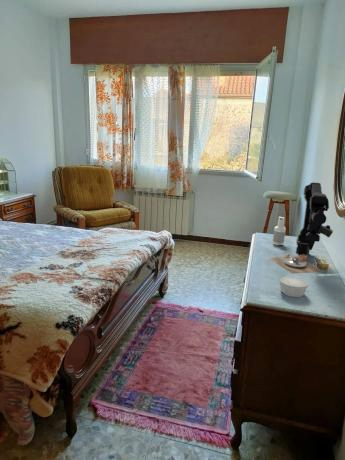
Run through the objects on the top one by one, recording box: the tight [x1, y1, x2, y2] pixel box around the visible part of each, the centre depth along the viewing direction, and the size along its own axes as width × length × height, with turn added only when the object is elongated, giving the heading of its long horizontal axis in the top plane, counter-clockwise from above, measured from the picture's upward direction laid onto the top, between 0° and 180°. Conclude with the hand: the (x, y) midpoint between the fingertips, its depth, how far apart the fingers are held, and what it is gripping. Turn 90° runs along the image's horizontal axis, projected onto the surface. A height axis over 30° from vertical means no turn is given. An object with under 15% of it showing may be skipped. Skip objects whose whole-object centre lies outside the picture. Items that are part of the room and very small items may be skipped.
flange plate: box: [284, 254, 308, 268], centre depth 169 cm, size 14×11×4 cm
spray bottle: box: [272, 216, 287, 246], centre depth 203 cm, size 7×7×18 cm
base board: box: [269, 256, 324, 274], centre depth 169 cm, size 18×22×1 cm
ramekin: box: [279, 276, 309, 298], centre depth 138 cm, size 11×11×5 cm
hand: (310, 249), depth 164 cm, fingers closed
